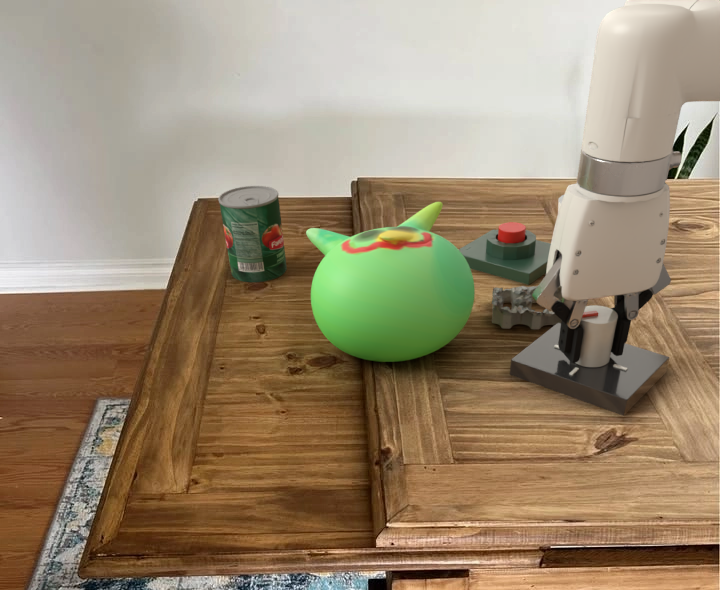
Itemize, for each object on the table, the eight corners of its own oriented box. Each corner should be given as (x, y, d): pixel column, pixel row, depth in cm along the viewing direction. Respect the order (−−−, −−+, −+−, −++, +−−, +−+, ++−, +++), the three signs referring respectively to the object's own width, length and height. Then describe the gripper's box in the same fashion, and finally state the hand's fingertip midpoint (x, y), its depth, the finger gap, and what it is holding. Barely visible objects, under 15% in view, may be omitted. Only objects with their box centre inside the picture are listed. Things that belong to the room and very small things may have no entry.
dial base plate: (664, 377, 78) (670, 355, 76) (622, 421, 72) (627, 398, 70) (555, 341, 85) (558, 321, 83) (508, 379, 79) (510, 358, 77)
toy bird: (325, 396, 78) (312, 266, 69) (309, 323, 91) (296, 204, 82) (488, 375, 80) (497, 244, 70) (449, 306, 93) (453, 187, 83)
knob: (600, 346, 78) (608, 300, 75) (616, 364, 75) (625, 318, 72) (564, 350, 78) (571, 305, 75) (578, 369, 75) (586, 323, 72)
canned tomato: (227, 268, 105) (213, 190, 98) (280, 259, 107) (270, 181, 100) (237, 291, 99) (223, 209, 92) (293, 280, 101) (284, 200, 94)
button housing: (566, 262, 101) (569, 234, 98) (528, 289, 95) (531, 260, 93) (491, 243, 107) (493, 216, 104) (452, 267, 101) (453, 239, 99)
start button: (529, 238, 99) (531, 225, 98) (515, 247, 97) (516, 234, 96) (506, 232, 101) (507, 220, 100) (492, 241, 99) (493, 228, 98)
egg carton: (579, 309, 90) (584, 278, 88) (579, 339, 85) (585, 306, 82) (492, 304, 92) (494, 273, 90) (487, 332, 87) (489, 301, 84)
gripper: (686, 149, 68) (647, 325, 80) (516, 169, 66) (501, 347, 78) (733, 173, 63) (683, 359, 75) (549, 197, 61) (527, 383, 72)
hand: (590, 351), depth 76 cm, fingers closed on knob, 4 cm apart
